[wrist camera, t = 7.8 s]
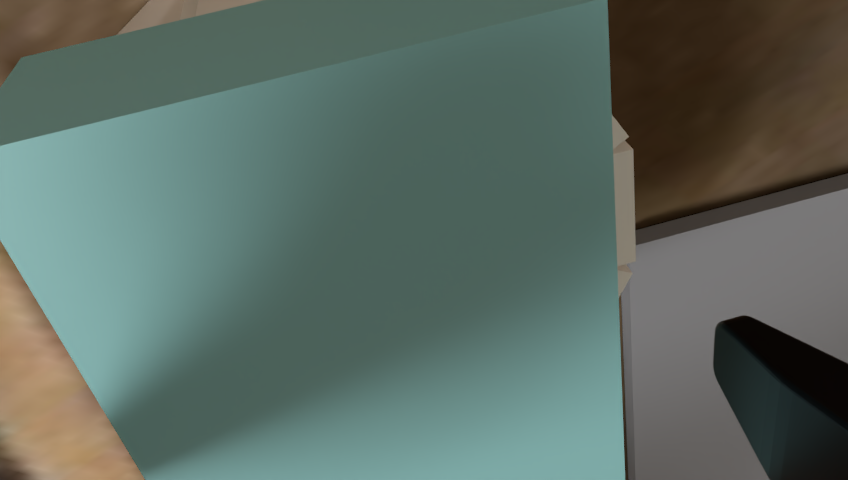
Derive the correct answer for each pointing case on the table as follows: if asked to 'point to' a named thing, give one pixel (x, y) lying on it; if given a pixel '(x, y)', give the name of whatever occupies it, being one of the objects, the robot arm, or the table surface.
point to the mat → (717, 301)
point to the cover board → (332, 237)
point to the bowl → (181, 3)
